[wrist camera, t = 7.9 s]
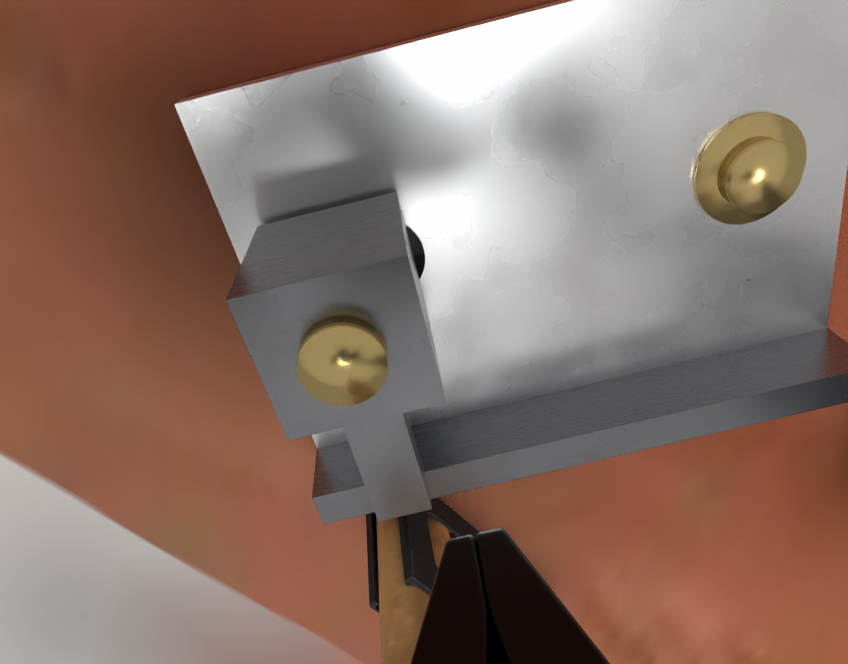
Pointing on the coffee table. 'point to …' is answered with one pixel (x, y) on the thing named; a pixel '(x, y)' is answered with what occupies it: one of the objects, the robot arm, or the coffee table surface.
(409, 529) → the ammunition clip
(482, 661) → the robot arm
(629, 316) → the hole plate
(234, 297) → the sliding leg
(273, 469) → the coffee table surface
